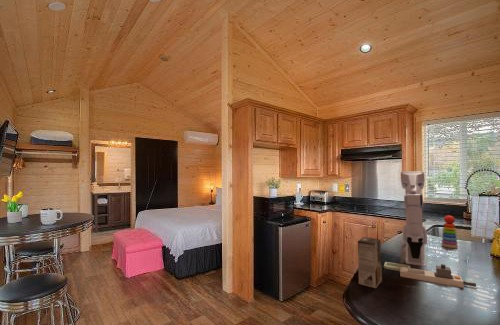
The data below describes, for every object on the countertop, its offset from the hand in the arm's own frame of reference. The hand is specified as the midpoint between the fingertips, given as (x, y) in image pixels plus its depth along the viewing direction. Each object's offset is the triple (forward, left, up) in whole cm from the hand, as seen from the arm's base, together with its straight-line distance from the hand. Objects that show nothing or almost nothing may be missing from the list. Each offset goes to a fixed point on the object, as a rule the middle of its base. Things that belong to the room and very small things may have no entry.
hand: (415, 256), depth 105 cm
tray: (-8, -7, -8) cm, 13 cm away
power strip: (0, +7, -8) cm, 10 cm away
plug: (0, 0, -2) cm, 2 cm away
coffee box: (+16, -15, -8) cm, 24 cm away
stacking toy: (-72, +18, -8) cm, 74 cm away
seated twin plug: (0, +9, -8) cm, 12 cm away
